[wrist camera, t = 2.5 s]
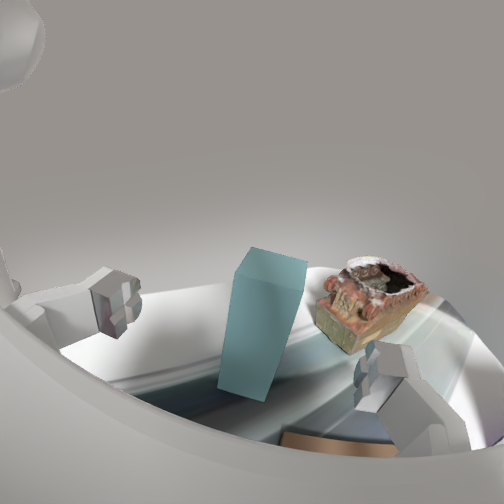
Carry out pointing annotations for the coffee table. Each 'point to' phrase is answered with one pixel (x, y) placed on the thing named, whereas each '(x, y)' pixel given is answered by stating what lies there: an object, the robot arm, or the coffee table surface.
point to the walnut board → (336, 446)
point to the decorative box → (367, 302)
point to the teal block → (259, 321)
